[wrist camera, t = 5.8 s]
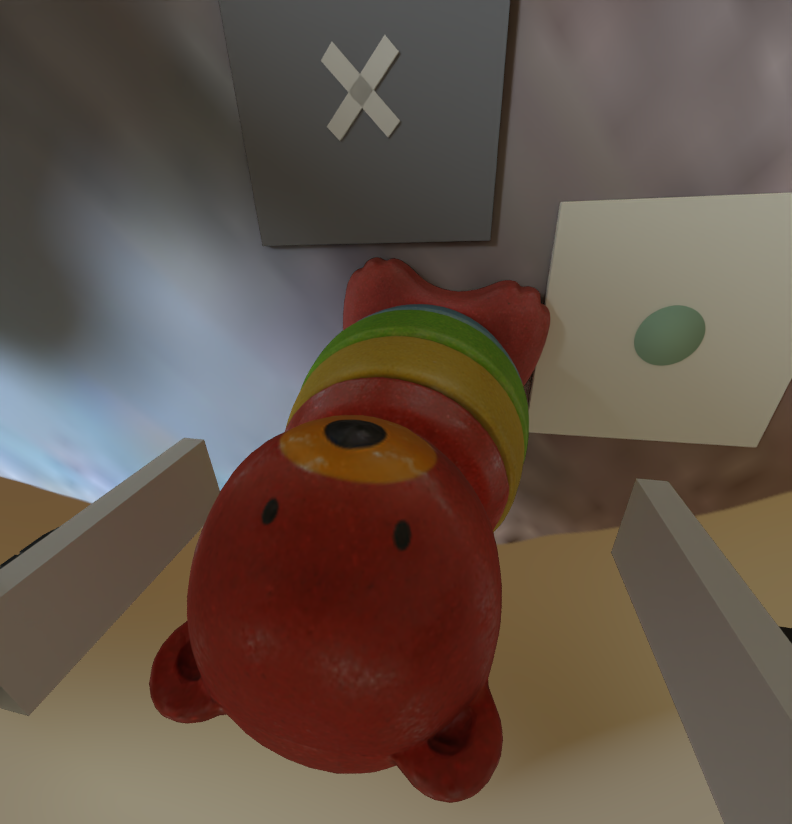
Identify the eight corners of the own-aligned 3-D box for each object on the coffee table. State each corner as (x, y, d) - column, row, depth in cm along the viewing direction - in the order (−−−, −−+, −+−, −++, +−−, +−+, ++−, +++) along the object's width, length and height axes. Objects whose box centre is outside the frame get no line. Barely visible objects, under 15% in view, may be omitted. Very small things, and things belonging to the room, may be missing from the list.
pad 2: (524, 429, 22) (525, 433, 22) (560, 202, 17) (562, 201, 16) (751, 443, 20) (757, 448, 19) (877, 189, 14) (890, 188, 14)
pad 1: (266, 245, 20) (261, 245, 19) (208, -85, 14) (200, -95, 14) (489, 240, 18) (490, 240, 17) (521, -149, 12) (523, -163, 12)
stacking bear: (561, 289, 18) (1024, 729, 2) (501, 453, 23) (530, 933, 7) (353, 249, 19) (-198, 375, 4) (340, 413, 24) (82, 752, 9)
